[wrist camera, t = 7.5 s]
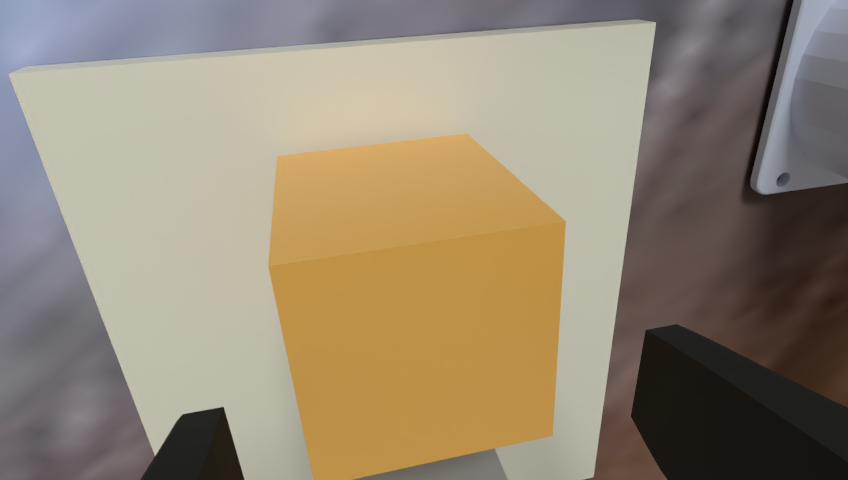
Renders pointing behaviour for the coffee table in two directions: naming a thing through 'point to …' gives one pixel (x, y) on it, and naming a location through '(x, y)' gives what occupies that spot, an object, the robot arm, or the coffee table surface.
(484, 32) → the board
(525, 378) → the amber foam cube
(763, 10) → the coffee table surface
